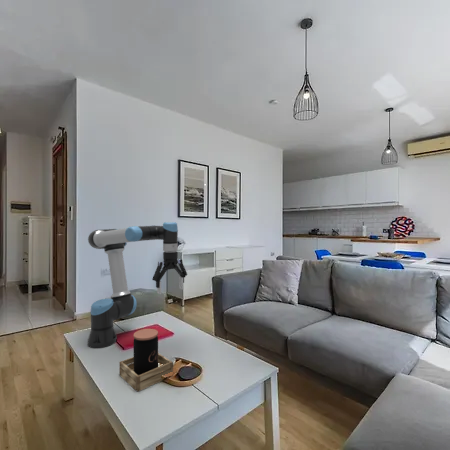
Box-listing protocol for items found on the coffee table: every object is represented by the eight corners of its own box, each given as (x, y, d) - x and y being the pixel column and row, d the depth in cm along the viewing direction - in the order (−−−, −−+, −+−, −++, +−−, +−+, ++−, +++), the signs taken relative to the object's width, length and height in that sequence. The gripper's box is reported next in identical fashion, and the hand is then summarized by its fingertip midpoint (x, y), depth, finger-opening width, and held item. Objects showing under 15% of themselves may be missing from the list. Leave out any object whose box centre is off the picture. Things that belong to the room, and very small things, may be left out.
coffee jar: (151, 381, 118) (151, 339, 118) (128, 378, 120) (128, 337, 120) (162, 368, 129) (162, 329, 128) (141, 365, 131) (140, 327, 131)
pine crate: (119, 375, 125) (119, 361, 125) (153, 361, 137) (153, 349, 136) (137, 391, 113) (137, 377, 112) (172, 375, 125) (172, 362, 124)
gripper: (153, 254, 135) (153, 297, 136) (193, 250, 153) (193, 288, 153) (145, 252, 141) (145, 294, 141) (185, 249, 158) (185, 286, 159)
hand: (170, 291), depth 147 cm, fingers open, 13 cm apart
